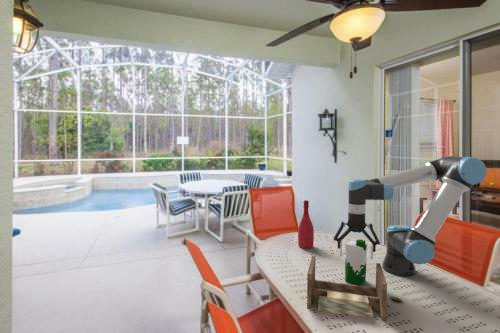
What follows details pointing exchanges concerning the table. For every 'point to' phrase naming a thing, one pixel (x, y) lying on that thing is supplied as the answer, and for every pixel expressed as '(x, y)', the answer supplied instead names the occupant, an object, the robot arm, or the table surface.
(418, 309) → the table surface
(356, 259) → the soya milk
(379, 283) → the walnut rack
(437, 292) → the table surface
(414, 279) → the table surface
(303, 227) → the wine bottle
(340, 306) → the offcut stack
